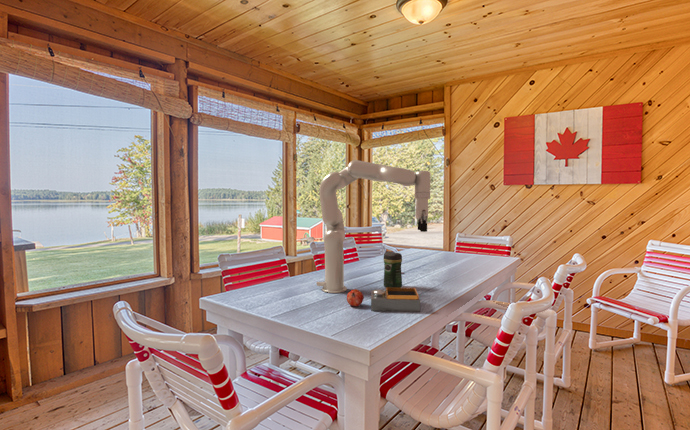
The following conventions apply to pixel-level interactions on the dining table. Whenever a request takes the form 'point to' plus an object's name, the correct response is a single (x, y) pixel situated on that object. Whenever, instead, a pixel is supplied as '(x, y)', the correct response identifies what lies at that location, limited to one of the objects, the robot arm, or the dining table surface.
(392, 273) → the coffee jar
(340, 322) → the dining table surface
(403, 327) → the dining table surface
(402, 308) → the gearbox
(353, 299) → the pomegranate
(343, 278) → the robot arm
